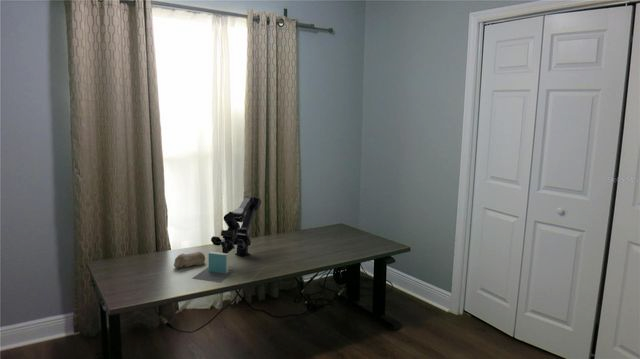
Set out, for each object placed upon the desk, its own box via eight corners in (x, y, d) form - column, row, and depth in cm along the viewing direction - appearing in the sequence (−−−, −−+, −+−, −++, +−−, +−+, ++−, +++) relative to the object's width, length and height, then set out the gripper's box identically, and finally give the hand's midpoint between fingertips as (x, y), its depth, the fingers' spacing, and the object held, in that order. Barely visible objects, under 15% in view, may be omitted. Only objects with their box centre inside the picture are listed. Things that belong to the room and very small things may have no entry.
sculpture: (170, 260, 243) (174, 250, 237) (199, 254, 254) (204, 244, 248) (175, 274, 240) (179, 264, 233) (204, 267, 251) (210, 258, 244)
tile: (211, 269, 240) (211, 251, 238) (228, 271, 237) (228, 253, 236) (208, 271, 237) (208, 253, 235) (225, 273, 234) (226, 255, 233)
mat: (208, 267, 243) (208, 266, 243) (235, 271, 240) (235, 270, 239) (191, 279, 226) (191, 278, 226) (220, 283, 222) (220, 282, 222)
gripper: (212, 222, 246) (202, 246, 237) (243, 225, 242) (235, 250, 233) (218, 232, 255) (209, 256, 246) (249, 235, 251) (240, 260, 242)
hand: (223, 256), depth 242 cm, fingers closed
